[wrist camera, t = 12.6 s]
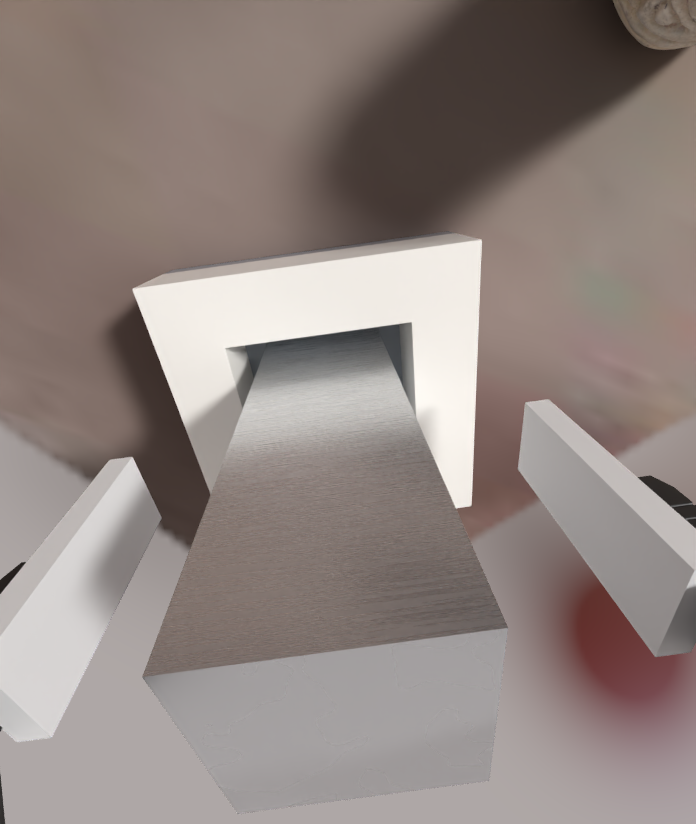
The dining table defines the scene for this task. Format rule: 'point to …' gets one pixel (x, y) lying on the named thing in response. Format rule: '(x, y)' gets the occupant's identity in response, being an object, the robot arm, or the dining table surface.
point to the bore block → (326, 333)
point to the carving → (659, 22)
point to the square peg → (331, 597)
